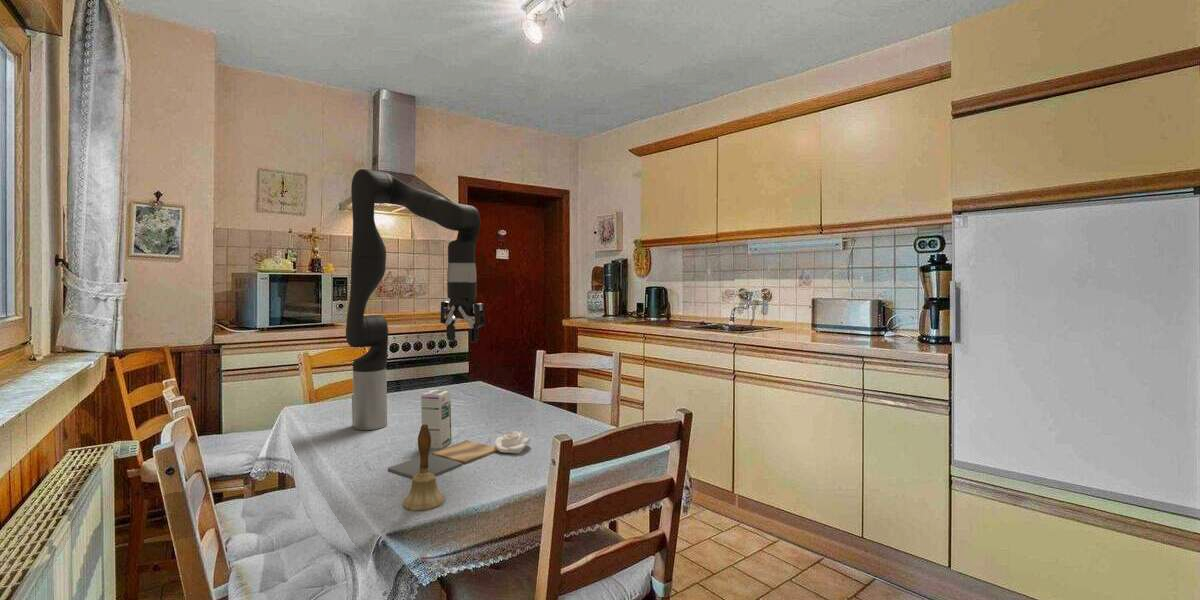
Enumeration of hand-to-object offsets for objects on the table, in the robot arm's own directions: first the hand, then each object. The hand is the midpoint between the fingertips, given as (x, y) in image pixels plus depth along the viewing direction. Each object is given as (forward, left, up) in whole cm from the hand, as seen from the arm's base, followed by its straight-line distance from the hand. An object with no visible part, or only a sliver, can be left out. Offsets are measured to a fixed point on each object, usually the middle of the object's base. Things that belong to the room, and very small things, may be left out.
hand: (462, 341), depth 147 cm
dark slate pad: (+5, -17, -28) cm, 33 cm away
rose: (+13, +5, -28) cm, 31 cm away
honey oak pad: (+5, -4, -28) cm, 29 cm away
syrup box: (-6, -4, -28) cm, 29 cm away
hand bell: (+20, -30, -28) cm, 46 cm away
